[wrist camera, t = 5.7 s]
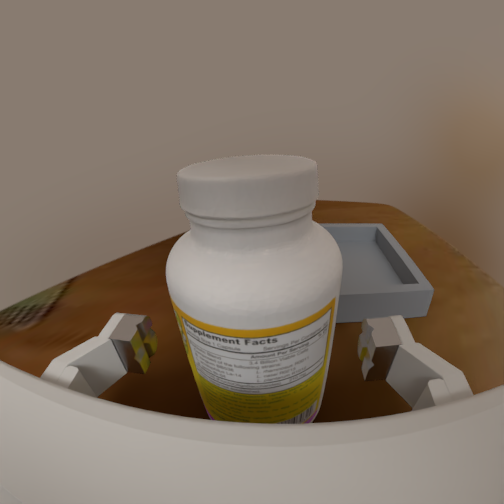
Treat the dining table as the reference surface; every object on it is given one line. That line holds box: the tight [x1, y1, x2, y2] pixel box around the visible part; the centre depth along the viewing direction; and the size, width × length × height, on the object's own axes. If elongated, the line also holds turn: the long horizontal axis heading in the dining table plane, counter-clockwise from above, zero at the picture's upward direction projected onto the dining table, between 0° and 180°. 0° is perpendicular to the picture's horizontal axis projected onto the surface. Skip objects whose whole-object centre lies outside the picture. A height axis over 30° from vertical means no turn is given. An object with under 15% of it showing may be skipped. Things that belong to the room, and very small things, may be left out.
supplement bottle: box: [166, 155, 343, 424], centre depth 12 cm, size 7×7×13 cm
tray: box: [319, 224, 434, 323], centre depth 26 cm, size 14×14×3 cm
